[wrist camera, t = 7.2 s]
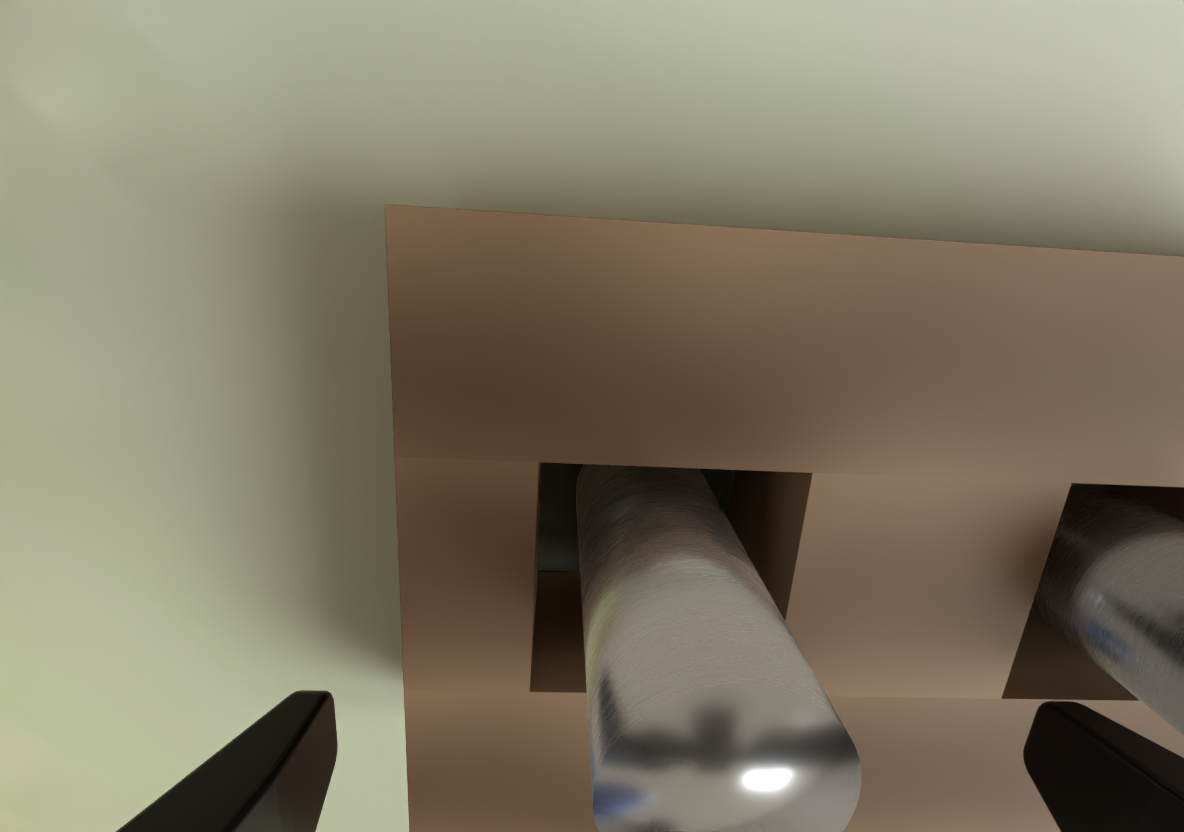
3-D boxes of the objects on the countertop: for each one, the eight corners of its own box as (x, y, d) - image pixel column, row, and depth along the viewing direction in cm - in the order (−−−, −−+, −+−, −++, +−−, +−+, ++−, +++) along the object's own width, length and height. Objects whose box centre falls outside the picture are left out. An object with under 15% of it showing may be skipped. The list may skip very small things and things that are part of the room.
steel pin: (708, 435, 14) (886, 688, 6) (694, 549, 15) (834, 893, 7) (579, 429, 14) (601, 684, 6) (572, 545, 15) (585, 894, 7)
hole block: (440, 210, 12) (384, 204, 8) (1266, 263, 13) (1548, 280, 10) (446, 694, 16) (409, 844, 12) (1096, 703, 17) (1251, 842, 13)
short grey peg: (1075, 448, 15) (1408, 595, 9) (1039, 558, 15) (1320, 756, 10) (955, 443, 14) (1216, 590, 9) (926, 555, 15) (1145, 754, 10)
